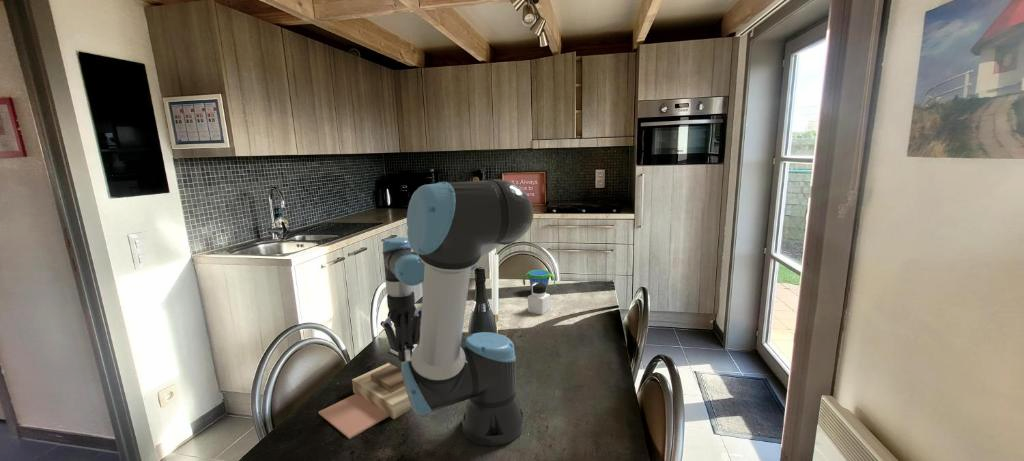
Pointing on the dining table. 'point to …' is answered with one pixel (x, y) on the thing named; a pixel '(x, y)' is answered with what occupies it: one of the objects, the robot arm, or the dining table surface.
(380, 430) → the dining table surface
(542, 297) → the medicine bottle
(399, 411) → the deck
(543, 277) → the snack cup
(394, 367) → the wooden block
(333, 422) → the mat
